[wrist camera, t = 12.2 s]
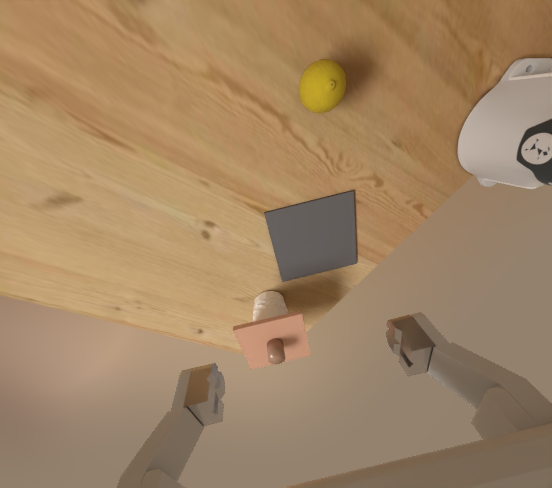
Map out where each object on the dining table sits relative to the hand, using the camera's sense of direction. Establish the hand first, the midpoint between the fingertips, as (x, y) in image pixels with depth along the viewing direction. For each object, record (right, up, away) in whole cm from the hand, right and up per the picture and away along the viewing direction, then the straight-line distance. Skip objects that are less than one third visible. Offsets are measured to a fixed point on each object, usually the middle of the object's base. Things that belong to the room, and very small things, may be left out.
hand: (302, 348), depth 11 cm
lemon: (+4, +26, +22) cm, 34 cm away
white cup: (-3, -8, +41) cm, 42 cm away
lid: (-1, -13, +32) cm, 35 cm away
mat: (+6, +6, +34) cm, 35 cm away
